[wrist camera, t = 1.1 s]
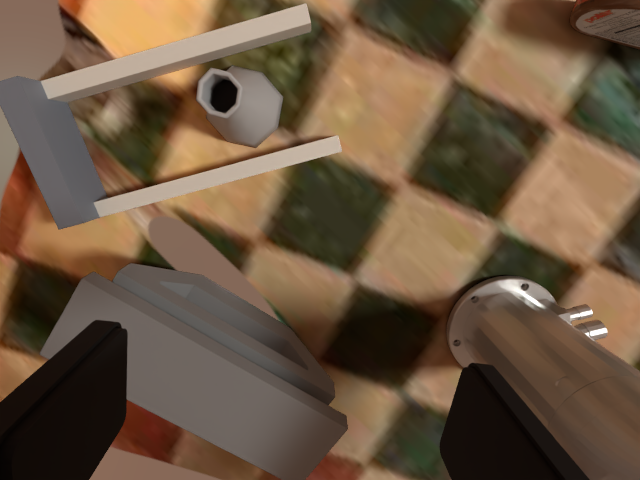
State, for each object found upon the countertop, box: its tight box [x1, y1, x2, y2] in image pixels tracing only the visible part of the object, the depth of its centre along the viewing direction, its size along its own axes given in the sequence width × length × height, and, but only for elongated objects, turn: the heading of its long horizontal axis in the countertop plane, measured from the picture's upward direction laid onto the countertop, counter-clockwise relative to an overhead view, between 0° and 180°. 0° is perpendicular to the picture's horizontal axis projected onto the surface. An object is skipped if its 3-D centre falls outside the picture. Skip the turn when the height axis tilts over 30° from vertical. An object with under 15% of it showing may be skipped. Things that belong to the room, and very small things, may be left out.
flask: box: [196, 65, 283, 148], centre depth 30 cm, size 7×7×10 cm
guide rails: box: [41, 4, 342, 217], centre depth 33 cm, size 24×12×2 cm, turn 105°
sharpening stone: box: [40, 263, 348, 480], centre depth 35 cm, size 25×8×11 cm, turn 55°
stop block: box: [0, 76, 108, 230], centre depth 33 cm, size 2×12×5 cm, turn 15°
